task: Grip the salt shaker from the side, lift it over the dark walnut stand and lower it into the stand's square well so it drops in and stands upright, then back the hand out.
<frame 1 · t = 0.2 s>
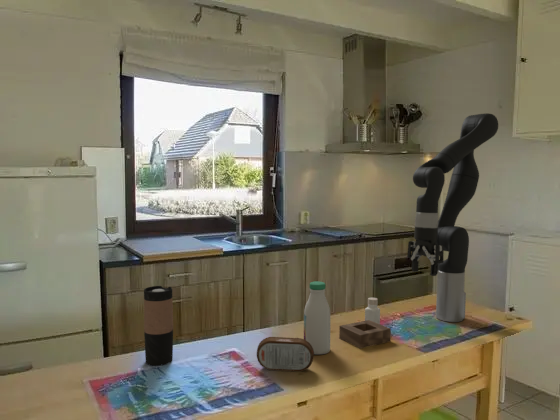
hand: (424, 273, 159), 18 cm above the table, tool pointing down, fingers open, 8 cm apart
milk bottle: (316, 351, 136), on the table
walnut stand: (364, 339, 145), on the table
tin: (284, 370, 123), on the table
travel mug: (159, 361, 128), on the table
salt shaker: (372, 326, 159), on the table
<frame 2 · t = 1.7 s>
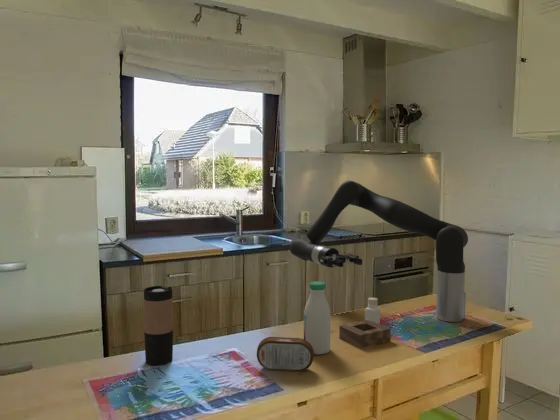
hand: (352, 263, 167), 20 cm above the table, tool horizontal, fingers open, 8 cm apart
nothing on the table moved.
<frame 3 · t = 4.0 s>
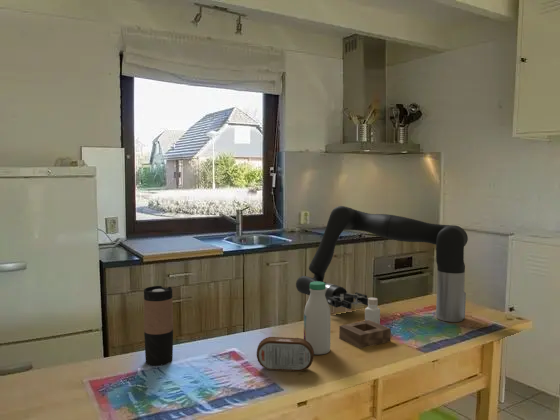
hand: (360, 304, 164), 6 cm above the table, tool horizontal, fingers open, 8 cm apart
nothing on the table moved.
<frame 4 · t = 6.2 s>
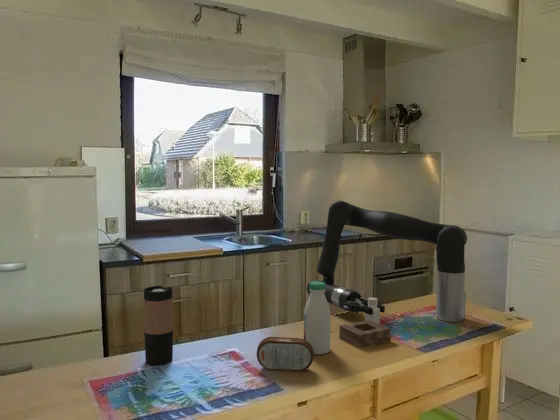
hand: (377, 310, 156), 6 cm above the table, tool horizontal, fingers closed on salt shaker, 4 cm apart
salt shaker: (372, 326, 159), on the table, touching gripper
everything else where it was.
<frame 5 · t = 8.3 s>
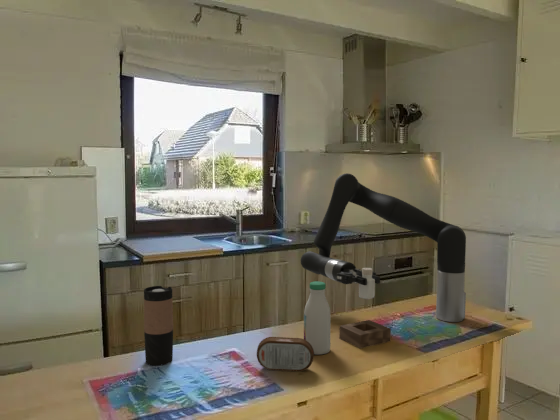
hand: (372, 281, 148), 18 cm above the table, tool horizontal, fingers closed on salt shaker, 4 cm apart
salt shaker: (366, 298, 150), point 12 cm above the table, touching gripper
everything else where it was.
when the fingers open (11 cm above the table, at t = 10.3 s): salt shaker drops 5 cm, resting in walnut stand.
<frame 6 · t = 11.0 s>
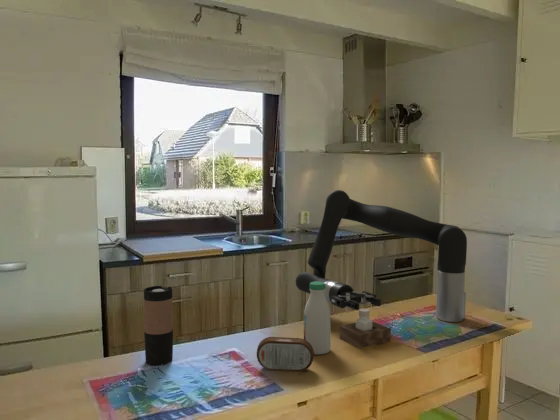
hand: (369, 304, 143), 12 cm above the table, tool horizontal, fingers open, 8 cm apart
salt shaker: (363, 340, 145), resting in walnut stand
everything else where it was.
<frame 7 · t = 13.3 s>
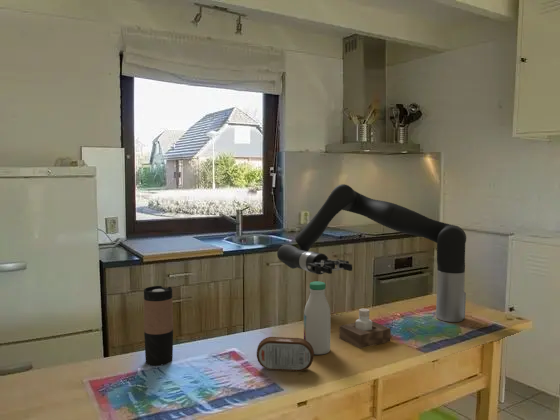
hand: (341, 269, 157), 20 cm above the table, tool horizontal, fingers open, 8 cm apart
nothing on the table moved.
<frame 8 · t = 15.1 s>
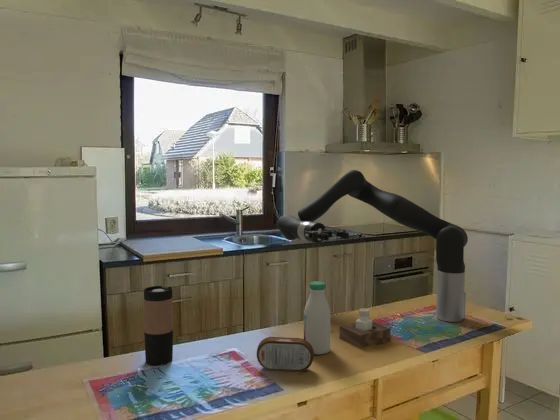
hand: (338, 236, 160), 30 cm above the table, tool horizontal, fingers open, 8 cm apart
nothing on the table moved.
at the end: salt shaker 0.4 cm off-centre on the walnut stand, point 0.0 cm above the walnut stand's base; salt shaker tilted 0°; the gripper is holding nothing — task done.
